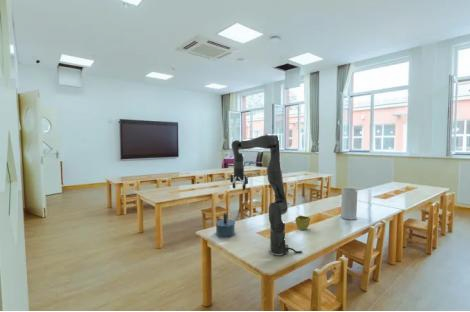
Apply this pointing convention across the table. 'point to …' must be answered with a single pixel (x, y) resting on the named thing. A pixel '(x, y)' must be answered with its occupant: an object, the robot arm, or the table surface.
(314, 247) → the table surface
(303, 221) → the flower pot
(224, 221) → the lid
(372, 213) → the table surface
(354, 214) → the cylinder vase
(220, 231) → the pot
